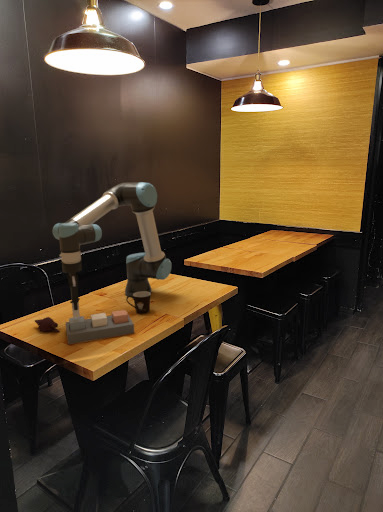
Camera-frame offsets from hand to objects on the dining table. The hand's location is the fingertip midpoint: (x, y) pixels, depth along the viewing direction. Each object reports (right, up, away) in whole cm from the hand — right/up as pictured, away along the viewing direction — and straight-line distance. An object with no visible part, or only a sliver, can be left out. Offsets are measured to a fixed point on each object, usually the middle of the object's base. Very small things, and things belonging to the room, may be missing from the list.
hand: (76, 316), depth 154 cm
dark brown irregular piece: (-16, -9, +9) cm, 20 cm away
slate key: (0, -5, +1) cm, 6 cm away
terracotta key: (+17, -4, +8) cm, 19 cm away
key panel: (+9, -9, +5) cm, 13 cm away
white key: (+9, -5, +4) cm, 11 cm away
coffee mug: (+23, -3, +29) cm, 37 cm away
